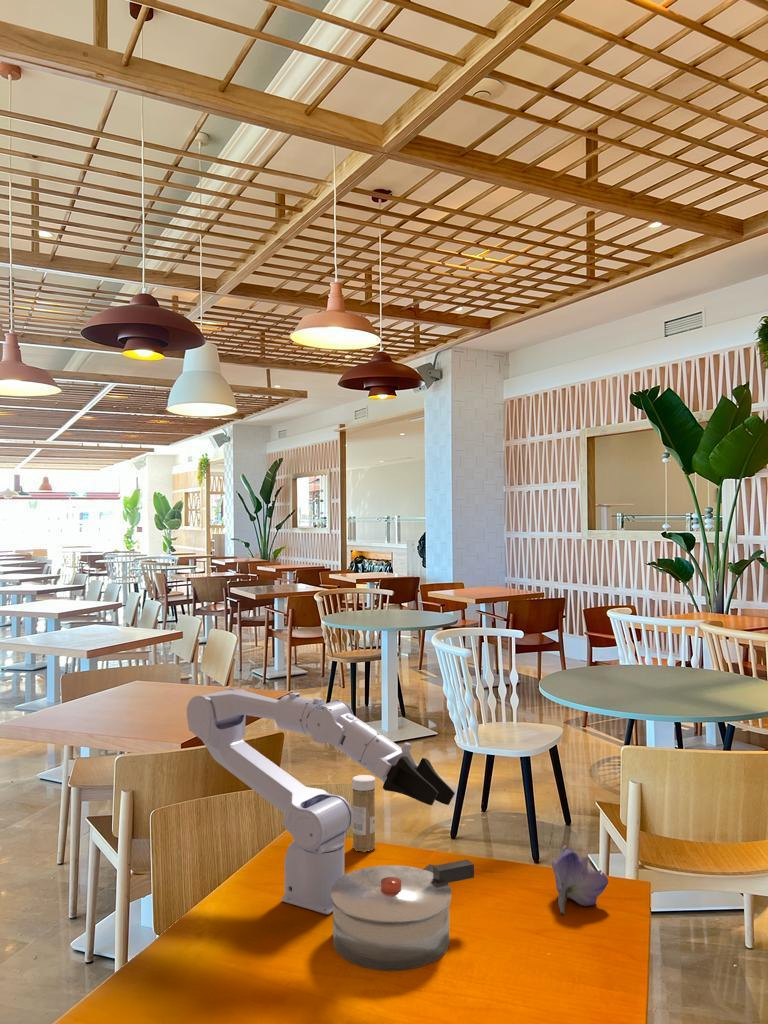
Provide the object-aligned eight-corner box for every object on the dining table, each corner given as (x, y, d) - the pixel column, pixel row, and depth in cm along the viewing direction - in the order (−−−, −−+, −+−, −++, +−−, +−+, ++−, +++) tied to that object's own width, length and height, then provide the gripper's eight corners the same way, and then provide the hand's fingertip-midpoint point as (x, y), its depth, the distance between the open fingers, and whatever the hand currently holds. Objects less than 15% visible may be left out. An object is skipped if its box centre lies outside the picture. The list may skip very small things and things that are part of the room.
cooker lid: (358, 934, 98) (357, 914, 98) (314, 882, 114) (314, 864, 114) (502, 902, 107) (502, 884, 107) (443, 858, 123) (443, 842, 123)
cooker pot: (414, 984, 97) (414, 936, 98) (309, 949, 106) (309, 905, 107) (484, 912, 117) (484, 873, 117) (391, 888, 126) (391, 852, 126)
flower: (584, 883, 113) (587, 833, 121) (534, 895, 116) (541, 845, 125) (615, 927, 114) (616, 875, 123) (565, 937, 118) (570, 886, 127)
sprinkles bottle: (380, 849, 143) (380, 778, 144) (359, 855, 140) (359, 782, 141) (367, 842, 147) (367, 772, 148) (347, 847, 144) (347, 776, 145)
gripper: (366, 723, 112) (440, 773, 106) (401, 731, 125) (469, 776, 118) (343, 766, 112) (416, 818, 105) (381, 769, 124) (448, 816, 117)
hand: (443, 799), depth 111 cm, fingers open, 7 cm apart
